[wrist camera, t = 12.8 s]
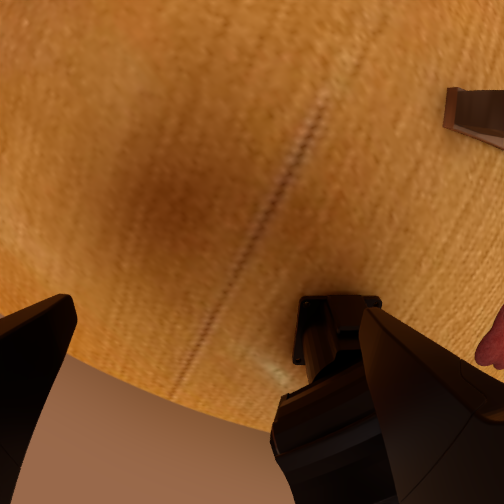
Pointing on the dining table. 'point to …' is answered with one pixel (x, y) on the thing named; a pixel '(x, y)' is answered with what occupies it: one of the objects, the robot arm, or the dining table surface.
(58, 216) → the dining table surface
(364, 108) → the dining table surface
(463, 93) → the scraper
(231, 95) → the dining table surface
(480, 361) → the red spill
